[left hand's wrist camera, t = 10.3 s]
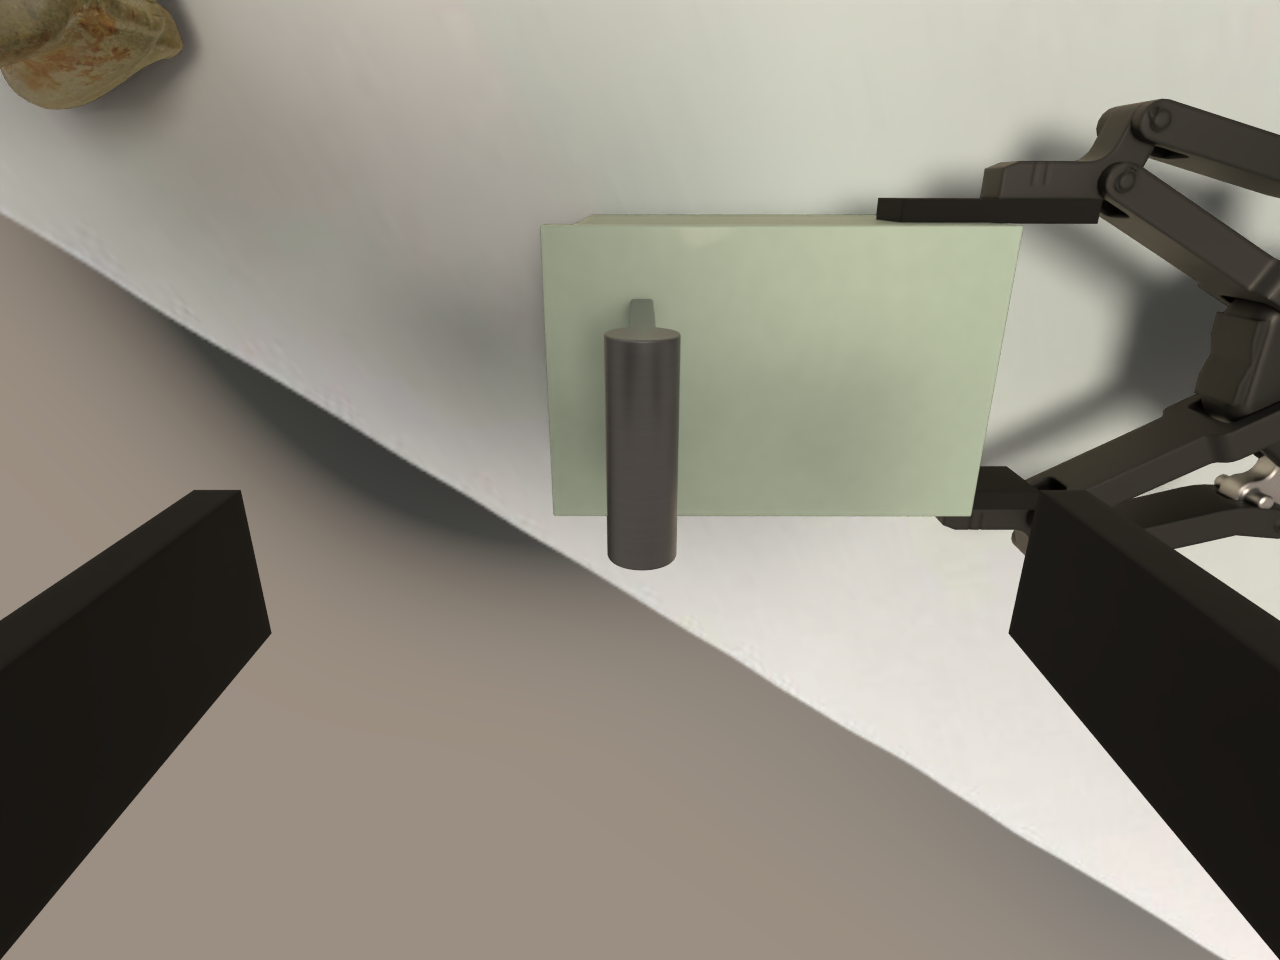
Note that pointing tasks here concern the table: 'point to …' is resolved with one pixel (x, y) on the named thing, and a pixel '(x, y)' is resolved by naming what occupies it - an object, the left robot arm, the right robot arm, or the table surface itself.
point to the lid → (768, 371)
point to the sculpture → (80, 46)
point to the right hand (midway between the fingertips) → (871, 358)
